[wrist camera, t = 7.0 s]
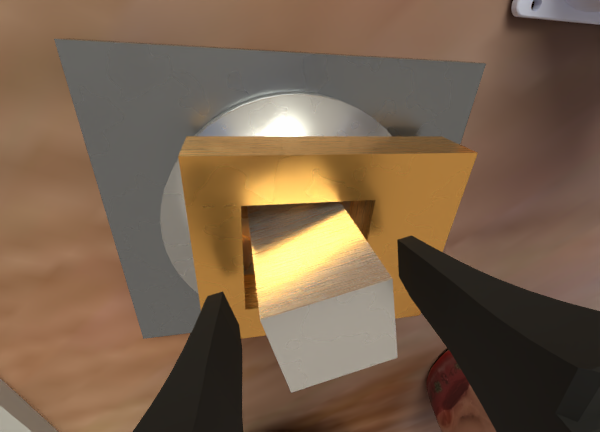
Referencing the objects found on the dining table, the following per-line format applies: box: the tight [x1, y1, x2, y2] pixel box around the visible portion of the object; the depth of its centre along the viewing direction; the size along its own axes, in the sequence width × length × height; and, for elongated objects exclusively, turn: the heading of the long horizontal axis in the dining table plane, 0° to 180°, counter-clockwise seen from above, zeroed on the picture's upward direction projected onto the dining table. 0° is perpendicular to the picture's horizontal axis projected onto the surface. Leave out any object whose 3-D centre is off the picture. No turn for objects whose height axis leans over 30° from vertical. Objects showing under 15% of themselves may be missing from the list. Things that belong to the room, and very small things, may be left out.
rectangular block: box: [247, 201, 397, 393], centre depth 13 cm, size 4×4×7 cm
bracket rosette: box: [54, 39, 486, 339], centre depth 16 cm, size 18×16×4 cm
